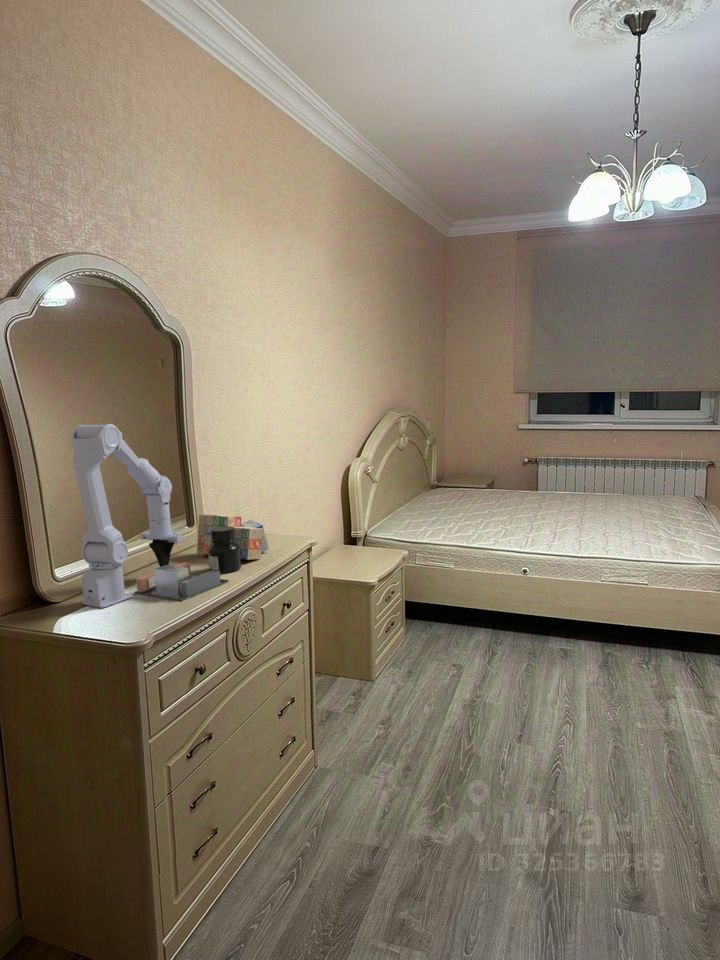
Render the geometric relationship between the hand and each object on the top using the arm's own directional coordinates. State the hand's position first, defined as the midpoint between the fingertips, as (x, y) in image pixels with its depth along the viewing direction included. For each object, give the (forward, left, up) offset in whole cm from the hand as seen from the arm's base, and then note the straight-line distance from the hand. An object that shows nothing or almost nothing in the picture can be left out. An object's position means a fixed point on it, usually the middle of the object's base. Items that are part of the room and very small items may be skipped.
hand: (164, 566), depth 187 cm
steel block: (-11, -14, -3) cm, 18 cm away
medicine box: (+32, -8, -2) cm, 33 cm away
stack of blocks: (+22, -4, -3) cm, 22 cm away
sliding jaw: (-6, -7, -2) cm, 9 cm away
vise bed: (-6, -13, -3) cm, 15 cm away
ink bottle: (+12, -12, -3) cm, 17 cm away
